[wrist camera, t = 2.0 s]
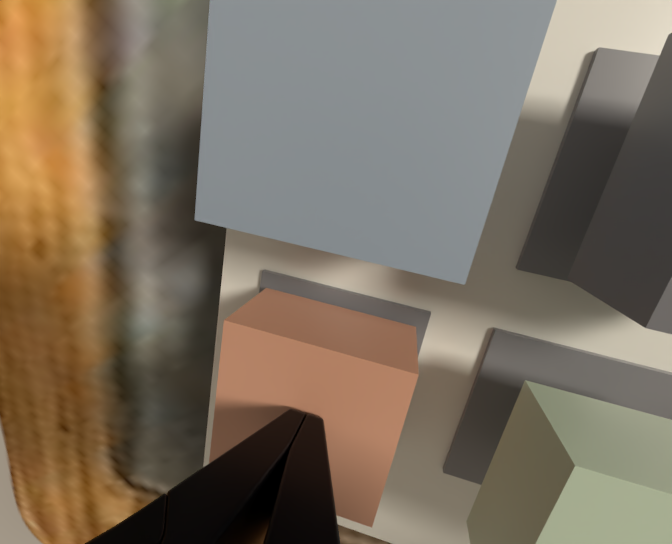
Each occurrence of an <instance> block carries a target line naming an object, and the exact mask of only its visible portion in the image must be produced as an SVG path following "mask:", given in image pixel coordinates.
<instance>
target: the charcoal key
mask: <svg viewBox="0 0 672 544" xmlns="http://www.w3.org/2000/svg"><path fill="white" fill-rule="evenodd" d="M567 280H569V281H570V282H572V283H574V284H575V285H577V286H579V287H580V288H582V289H583V290H585V291H587V292H588V293H590V294H591V295H593V296H595V297H596V298H598V299H599V300H601V301H603V302H604V303H606V304H607V305H609V306H611V307H612V308H614V309H615V310H617V311H619V312H620V313H622V314H624V315H625V316H627V317H628V318H630V319H632V320H633V321H635V322H636V323H638V324H640V325H641V326H643V327H644V328H647V329H651V330H655V331H660V332H664V333H668V334H672V33H670V34H669V35H668V37H667V39H666V42H665V44H664V47H663V49H662V51H661V54H660V56H659V59H658V61H657V63H656V66H655V68H654V71H653V73H652V75H651V78H650V80H649V83H648V85H647V87H646V90H645V92H644V95H643V97H642V100H641V102H640V104H639V107H638V109H637V112H636V114H635V116H634V119H633V121H632V124H631V126H630V128H629V131H628V133H627V136H626V138H625V140H624V143H623V145H622V148H621V150H620V153H619V155H618V157H617V160H616V162H615V165H614V167H613V169H612V172H611V174H610V177H609V179H608V181H607V184H606V186H605V189H604V191H603V193H602V196H601V198H600V201H599V203H598V205H597V208H596V210H595V213H594V215H593V218H592V220H591V222H590V225H589V227H588V230H587V232H586V234H585V237H584V239H583V242H582V244H581V246H580V249H579V251H578V254H577V256H576V258H575V261H574V263H573V266H572V268H571V271H570V273H569V275H568V278H567Z"/></svg>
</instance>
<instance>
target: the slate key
mask: <svg viewBox="0 0 672 544" xmlns="http://www.w3.org/2000/svg"><path fill="white" fill-rule="evenodd" d="M556 2H557V0H210V6H209V20H208V35H207V49H206V63H205V78H204V92H203V106H202V120H201V135H200V149H199V163H198V178H197V192H196V206H195V220H196V221H200V222H204V223H208V224H212V225H217V226H221V227H225V228H229V229H233V230H238V231H242V232H246V233H250V234H254V235H258V236H263V237H267V238H271V239H275V240H279V241H283V242H288V243H292V244H296V245H300V246H304V247H309V248H313V249H317V250H321V251H325V252H329V253H334V254H338V255H342V256H346V257H350V258H355V259H359V260H363V261H367V262H371V263H375V264H380V265H384V266H388V267H392V268H396V269H400V270H405V271H409V272H413V273H417V274H421V275H426V276H430V277H434V278H438V279H442V280H446V281H451V282H455V283H459V284H463V285H465V283H466V280H467V277H468V274H469V271H470V268H471V264H472V261H473V258H474V255H475V252H476V249H477V246H478V243H479V240H480V237H481V234H482V230H483V227H484V224H485V221H486V218H487V215H488V212H489V209H490V206H491V203H492V200H493V196H494V193H495V190H496V187H497V184H498V181H499V178H500V175H501V172H502V169H503V166H504V162H505V159H506V156H507V153H508V150H509V147H510V144H511V141H512V138H513V135H514V132H515V128H516V125H517V122H518V119H519V116H520V113H521V110H522V107H523V104H524V101H525V98H526V94H527V91H528V88H529V85H530V82H531V79H532V76H533V73H534V70H535V67H536V63H537V60H538V57H539V54H540V51H541V48H542V45H543V42H544V39H545V36H546V33H547V29H548V26H549V23H550V20H551V17H552V14H553V11H554V8H555V5H556Z"/></svg>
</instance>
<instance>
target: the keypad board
mask: <svg viewBox="0 0 672 544" xmlns="http://www.w3.org/2000/svg"><path fill="white" fill-rule="evenodd" d="M670 33H672V0H557V2H556V5H555V8H554V11H553V14H552V17H551V20H550V23H549V26H548V29H547V33H546V36H545V39H544V42H543V45H542V48H541V51H540V54H539V57H538V60H537V63H536V67H535V70H534V73H533V76H532V79H531V82H530V85H529V88H528V91H527V94H526V98H525V101H524V104H523V107H522V110H521V113H520V116H519V119H518V122H517V125H516V128H515V132H514V135H513V138H512V141H511V144H510V147H509V150H508V153H507V156H506V159H505V162H504V166H503V169H502V172H501V175H500V178H499V181H498V184H497V187H496V190H495V193H494V196H493V200H492V203H491V206H490V209H489V212H488V215H487V218H486V221H485V224H484V227H483V230H482V234H481V237H480V240H479V243H478V246H477V249H476V252H475V255H474V258H473V261H472V264H471V268H470V271H469V274H468V277H467V280H466V283H465V285H463V284H459V283H455V282H451V281H446V280H442V279H438V278H434V277H430V276H426V275H421V274H417V273H413V272H409V271H405V270H400V269H396V268H392V267H388V266H384V265H380V264H375V263H371V262H367V261H363V260H359V259H355V258H350V257H346V256H342V255H338V254H334V253H329V252H325V251H321V250H317V249H313V248H309V247H304V246H300V245H296V244H292V243H288V242H283V241H279V240H275V239H271V238H267V237H263V236H258V235H254V234H250V233H246V232H242V231H238V230H233V229H229V228H227V230H226V241H225V251H224V261H223V271H222V281H221V291H220V301H219V311H218V322H217V332H216V342H215V352H214V362H213V372H212V382H211V393H210V403H209V413H208V423H207V433H206V443H205V453H204V464H203V467H205V466H206V465H208V464H209V458H210V448H211V439H212V429H213V420H214V410H215V400H216V391H217V381H218V372H219V362H220V353H221V343H222V334H223V324H224V320H225V319H226V318H227V317H229V316H230V315H231V314H233V313H234V312H235V311H237V310H238V309H239V308H241V307H242V306H243V305H244V304H246V303H247V302H248V301H250V300H251V299H252V298H254V297H255V296H256V295H258V294H259V293H260V292H262V291H263V290H264V289H265V288H269V289H273V290H277V291H281V292H285V293H289V294H292V295H296V296H300V297H304V298H308V299H312V300H315V301H319V302H323V303H327V304H331V305H335V306H338V307H342V308H346V309H350V310H354V311H358V312H361V313H365V314H369V315H373V316H377V317H380V318H384V319H388V320H392V321H396V322H400V323H403V324H407V325H411V326H415V327H416V335H417V353H418V370H419V376H418V379H417V382H416V385H415V389H414V392H413V395H412V398H411V402H410V405H409V408H408V412H407V415H406V418H405V421H404V425H403V428H402V431H401V434H400V438H399V441H398V444H397V447H396V451H395V454H394V457H393V461H392V464H391V467H390V470H389V474H388V477H387V480H386V483H385V487H384V490H383V493H382V496H381V500H380V503H379V506H378V510H377V513H376V516H375V519H374V523H373V526H372V528H371V527H368V526H366V525H363V524H360V523H357V522H354V521H351V520H348V519H346V518H343V517H340V516H337V515H336V516H337V523H338V525H341V526H344V527H347V528H349V529H352V530H355V531H358V532H361V533H364V534H366V535H369V536H372V537H375V538H378V539H381V540H383V541H386V542H389V543H392V544H470V539H469V533H468V528H467V522H466V521H467V519H468V516H469V514H470V511H471V509H472V507H473V504H474V502H475V499H476V497H477V494H478V492H479V490H480V487H481V485H482V482H483V480H484V478H485V475H486V473H487V470H488V468H489V466H490V463H491V461H492V458H493V456H494V454H495V451H496V449H497V446H498V444H499V442H500V439H501V437H502V434H503V432H504V429H505V427H506V425H507V422H508V420H509V417H510V415H511V413H512V410H513V408H514V405H515V403H516V401H517V398H518V396H519V393H520V391H521V389H522V386H523V384H524V381H525V380H527V381H530V382H534V383H538V384H541V385H545V386H549V387H553V388H556V389H560V390H564V391H567V392H571V393H575V394H578V395H582V396H586V397H589V398H593V399H597V400H601V401H604V402H608V403H612V404H615V405H619V406H623V407H626V408H630V409H634V410H637V411H641V412H645V413H649V414H652V415H656V416H660V417H663V418H667V419H671V420H672V334H668V333H664V332H660V331H655V330H651V329H647V328H644V327H643V326H641V325H640V324H638V323H636V322H635V321H633V320H632V319H630V318H628V317H627V316H625V315H624V314H622V313H620V312H619V311H617V310H615V309H614V308H612V307H611V306H609V305H607V304H606V303H604V302H603V301H601V300H599V299H598V298H596V297H595V296H593V295H591V294H590V293H588V292H587V291H585V290H583V289H582V288H580V287H579V286H577V285H575V284H574V283H572V282H570V281H569V280H567V278H568V275H569V273H570V271H571V268H572V266H573V263H574V261H575V258H576V256H577V254H578V251H579V249H580V246H581V244H582V242H583V239H584V237H585V234H586V232H587V230H588V227H589V225H590V222H591V220H592V218H593V215H594V213H595V210H596V208H597V205H598V203H599V201H600V198H601V196H602V193H603V191H604V189H605V186H606V184H607V181H608V179H609V177H610V174H611V172H612V169H613V167H614V165H615V162H616V160H617V157H618V155H619V153H620V150H621V148H622V145H623V143H624V140H625V138H626V136H627V133H628V131H629V128H630V126H631V124H632V121H633V119H634V116H635V114H636V112H637V109H638V107H639V104H640V102H641V100H642V97H643V95H644V92H645V90H646V87H647V85H648V83H649V80H650V78H651V75H652V73H653V71H654V68H655V66H656V63H657V61H658V59H659V56H660V54H661V51H662V49H663V47H664V44H665V42H666V39H667V37H668V35H669V34H670Z"/></svg>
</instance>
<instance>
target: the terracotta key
mask: <svg viewBox="0 0 672 544" xmlns="http://www.w3.org/2000/svg"><path fill="white" fill-rule="evenodd" d="M418 376H419V370H418V353H417V335H416V327H415V326H411V325H407V324H403V323H400V322H396V321H392V320H388V319H384V318H380V317H377V316H373V315H369V314H365V313H361V312H358V311H354V310H350V309H346V308H342V307H338V306H335V305H331V304H327V303H323V302H319V301H315V300H312V299H308V298H304V297H300V296H296V295H292V294H289V293H285V292H281V291H277V290H273V289H269V288H265V289H264V290H263V291H262V292H260V293H259V294H258V295H256V296H255V297H254V298H252V299H251V300H250V301H248V302H247V303H246V304H244V305H243V306H242V307H241V308H239V309H238V310H237V311H235V312H234V313H233V314H231V315H230V316H229V317H227V318H226V319H225V320H224V324H223V334H222V343H221V353H220V362H219V372H218V381H217V391H216V400H215V410H214V420H213V429H212V439H211V448H210V458H209V463H211V462H212V461H213V460H215V459H216V458H218V457H219V456H221V455H222V454H224V453H225V452H227V451H228V450H230V449H231V448H233V447H234V446H236V445H237V444H239V443H240V442H241V441H243V440H244V439H246V438H247V437H249V436H250V435H252V434H253V433H255V432H256V431H258V430H259V429H261V428H262V427H264V426H265V425H267V424H268V423H269V422H271V421H272V420H274V419H275V418H277V417H278V416H280V415H281V414H283V413H284V412H286V411H287V410H289V409H295V410H299V411H302V412H305V413H306V415H308V414H311V415H315V416H318V417H321V418H322V419H323V420H324V426H325V434H326V441H327V449H328V456H329V464H330V471H331V479H332V486H333V494H334V501H335V508H336V515H337V516H340V517H343V518H346V519H348V520H351V521H354V522H357V523H360V524H363V525H366V526H368V527H371V528H372V526H373V523H374V519H375V516H376V513H377V510H378V506H379V503H380V500H381V496H382V493H383V490H384V487H385V483H386V480H387V477H388V474H389V470H390V467H391V464H392V461H393V457H394V454H395V451H396V447H397V444H398V441H399V438H400V434H401V431H402V428H403V425H404V421H405V418H406V415H407V412H408V408H409V405H410V402H411V398H412V395H413V392H414V389H415V385H416V382H417V379H418Z"/></svg>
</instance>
